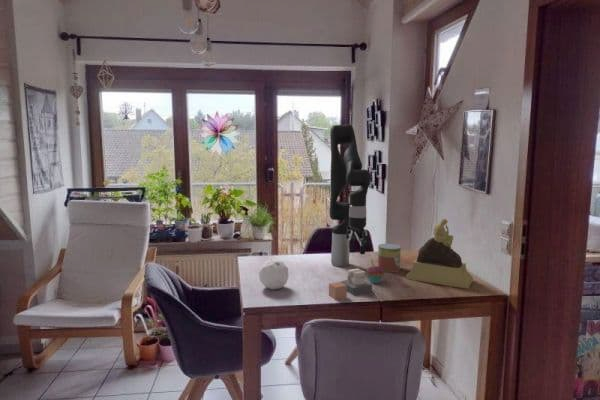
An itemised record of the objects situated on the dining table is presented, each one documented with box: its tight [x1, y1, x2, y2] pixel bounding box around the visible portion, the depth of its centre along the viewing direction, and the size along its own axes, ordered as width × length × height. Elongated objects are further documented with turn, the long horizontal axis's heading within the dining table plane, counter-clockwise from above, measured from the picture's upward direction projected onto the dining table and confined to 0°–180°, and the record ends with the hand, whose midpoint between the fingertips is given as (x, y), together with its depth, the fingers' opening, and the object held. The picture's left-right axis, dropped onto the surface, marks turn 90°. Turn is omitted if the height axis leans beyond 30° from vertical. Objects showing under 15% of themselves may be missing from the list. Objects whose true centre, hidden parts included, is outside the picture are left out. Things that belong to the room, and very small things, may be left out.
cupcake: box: [365, 258, 386, 284], centre depth 205 cm, size 9×8×12 cm
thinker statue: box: [405, 218, 474, 290], centre depth 206 cm, size 28×13×30 cm, turn 60°
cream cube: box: [347, 268, 366, 286], centre depth 194 cm, size 6×6×6 cm
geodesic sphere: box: [258, 258, 290, 290], centre depth 196 cm, size 14×14×14 cm
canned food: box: [377, 243, 402, 273], centre depth 224 cm, size 11×11×12 cm
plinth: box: [340, 279, 373, 295], centre depth 195 cm, size 10×10×3 cm
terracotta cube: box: [328, 281, 348, 301], centre depth 186 cm, size 6×6×6 cm
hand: (356, 251), depth 193 cm, fingers open, 8 cm apart
